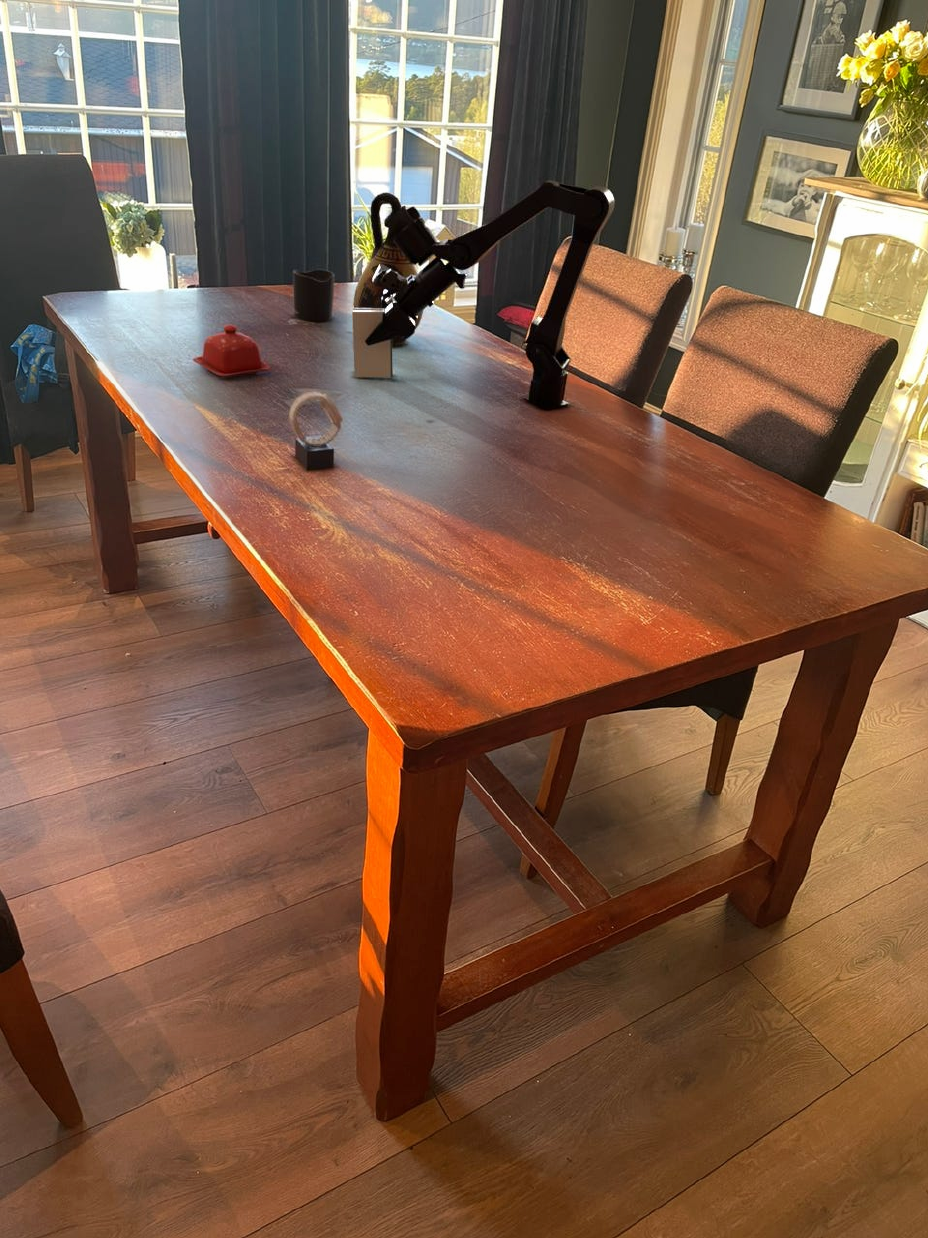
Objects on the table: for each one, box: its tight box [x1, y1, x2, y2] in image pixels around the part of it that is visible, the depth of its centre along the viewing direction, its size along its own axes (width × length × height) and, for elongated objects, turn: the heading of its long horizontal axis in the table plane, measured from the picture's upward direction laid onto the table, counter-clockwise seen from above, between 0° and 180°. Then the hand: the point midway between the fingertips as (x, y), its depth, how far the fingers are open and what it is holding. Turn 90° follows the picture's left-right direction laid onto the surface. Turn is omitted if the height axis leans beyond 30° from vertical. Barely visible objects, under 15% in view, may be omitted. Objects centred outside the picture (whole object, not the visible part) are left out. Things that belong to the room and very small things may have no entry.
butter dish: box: [192, 324, 271, 378], centre depth 178 cm, size 12×12×8 cm
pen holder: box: [292, 268, 336, 323], centre depth 217 cm, size 9×9×10 cm
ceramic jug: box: [352, 191, 424, 348], centre depth 202 cm, size 17×15×30 cm
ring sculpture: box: [288, 390, 344, 471], centre depth 144 cm, size 6×8×11 cm
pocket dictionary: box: [351, 307, 394, 378], centre depth 183 cm, size 8×4×12 cm, turn 93°
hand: (366, 339), depth 182 cm, fingers open, 6 cm apart
